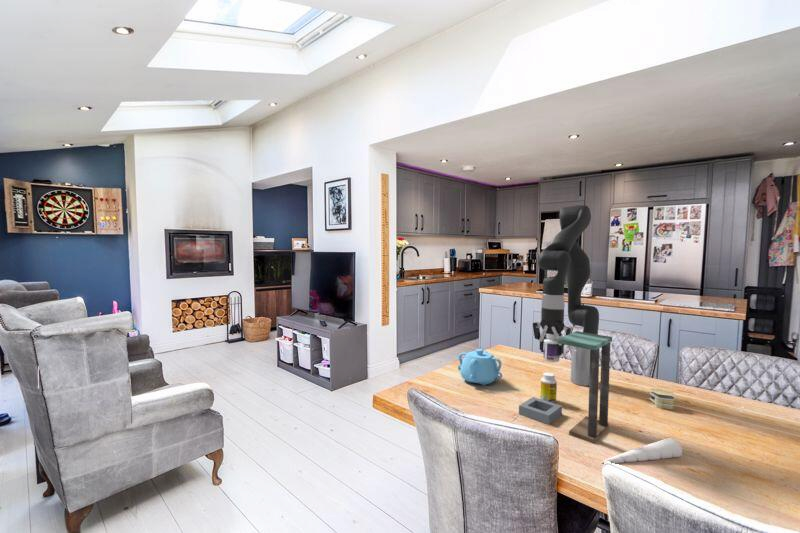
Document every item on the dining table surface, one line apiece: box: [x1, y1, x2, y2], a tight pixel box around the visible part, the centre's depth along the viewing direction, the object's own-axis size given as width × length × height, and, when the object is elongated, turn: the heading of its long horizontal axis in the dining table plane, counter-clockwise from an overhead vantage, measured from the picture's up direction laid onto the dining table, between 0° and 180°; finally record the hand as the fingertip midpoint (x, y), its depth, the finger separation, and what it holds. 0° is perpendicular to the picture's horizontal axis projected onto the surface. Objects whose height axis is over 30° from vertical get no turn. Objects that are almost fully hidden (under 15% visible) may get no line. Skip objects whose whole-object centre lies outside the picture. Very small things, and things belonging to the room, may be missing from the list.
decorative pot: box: [457, 348, 503, 386], centre depth 160 cm, size 16×16×14 cm
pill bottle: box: [542, 333, 560, 363], centre depth 133 cm, size 5×5×10 cm
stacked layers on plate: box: [649, 387, 676, 411], centre depth 135 cm, size 10×9×6 cm
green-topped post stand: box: [558, 330, 613, 444], centre depth 117 cm, size 15×11×29 cm
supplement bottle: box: [539, 372, 558, 404], centre depth 139 cm, size 6×6×10 cm
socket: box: [518, 396, 563, 425], centre depth 128 cm, size 10×10×3 cm
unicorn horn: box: [602, 437, 683, 464], centre depth 102 cm, size 5×24×5 cm, turn 98°
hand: (551, 353), depth 133 cm, fingers closed on pill bottle, 5 cm apart
